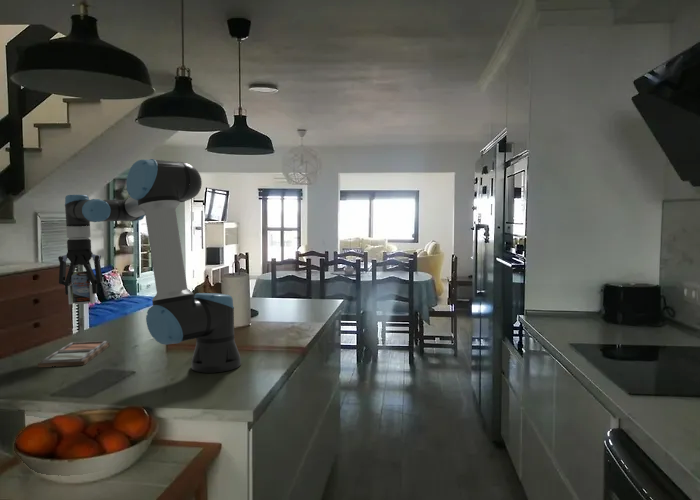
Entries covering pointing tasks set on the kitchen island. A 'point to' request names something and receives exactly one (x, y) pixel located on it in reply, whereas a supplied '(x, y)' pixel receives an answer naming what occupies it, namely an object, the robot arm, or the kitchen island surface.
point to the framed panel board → (74, 354)
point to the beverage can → (80, 287)
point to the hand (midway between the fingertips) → (82, 303)
